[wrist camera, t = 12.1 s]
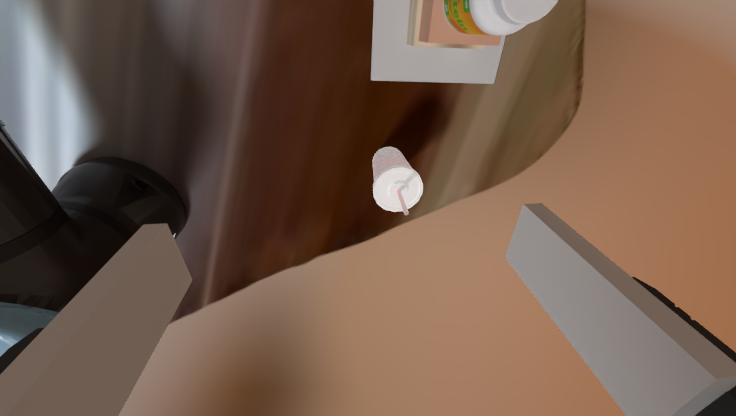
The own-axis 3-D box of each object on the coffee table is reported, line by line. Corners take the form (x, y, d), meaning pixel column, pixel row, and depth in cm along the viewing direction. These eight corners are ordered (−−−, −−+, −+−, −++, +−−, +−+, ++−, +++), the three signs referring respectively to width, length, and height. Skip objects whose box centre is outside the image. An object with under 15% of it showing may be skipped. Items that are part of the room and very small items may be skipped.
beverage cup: (370, 139, 40) (382, 185, 28) (412, 143, 41) (441, 190, 29) (364, 178, 43) (373, 234, 31) (403, 181, 44) (426, 238, 32)
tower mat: (370, 79, 36) (371, 80, 36) (377, -101, 27) (378, -103, 27) (492, 83, 37) (493, 83, 37) (535, -88, 29) (537, -89, 28)
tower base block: (406, 44, 34) (413, 46, 30) (414, -45, 30) (423, -54, 26) (471, 47, 34) (485, 49, 31) (488, -40, 30) (507, -48, 27)
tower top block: (418, 41, 30) (428, 42, 27) (428, -46, 26) (441, -57, 23) (481, 43, 31) (499, 45, 27) (500, -42, 27) (522, -52, 24)
